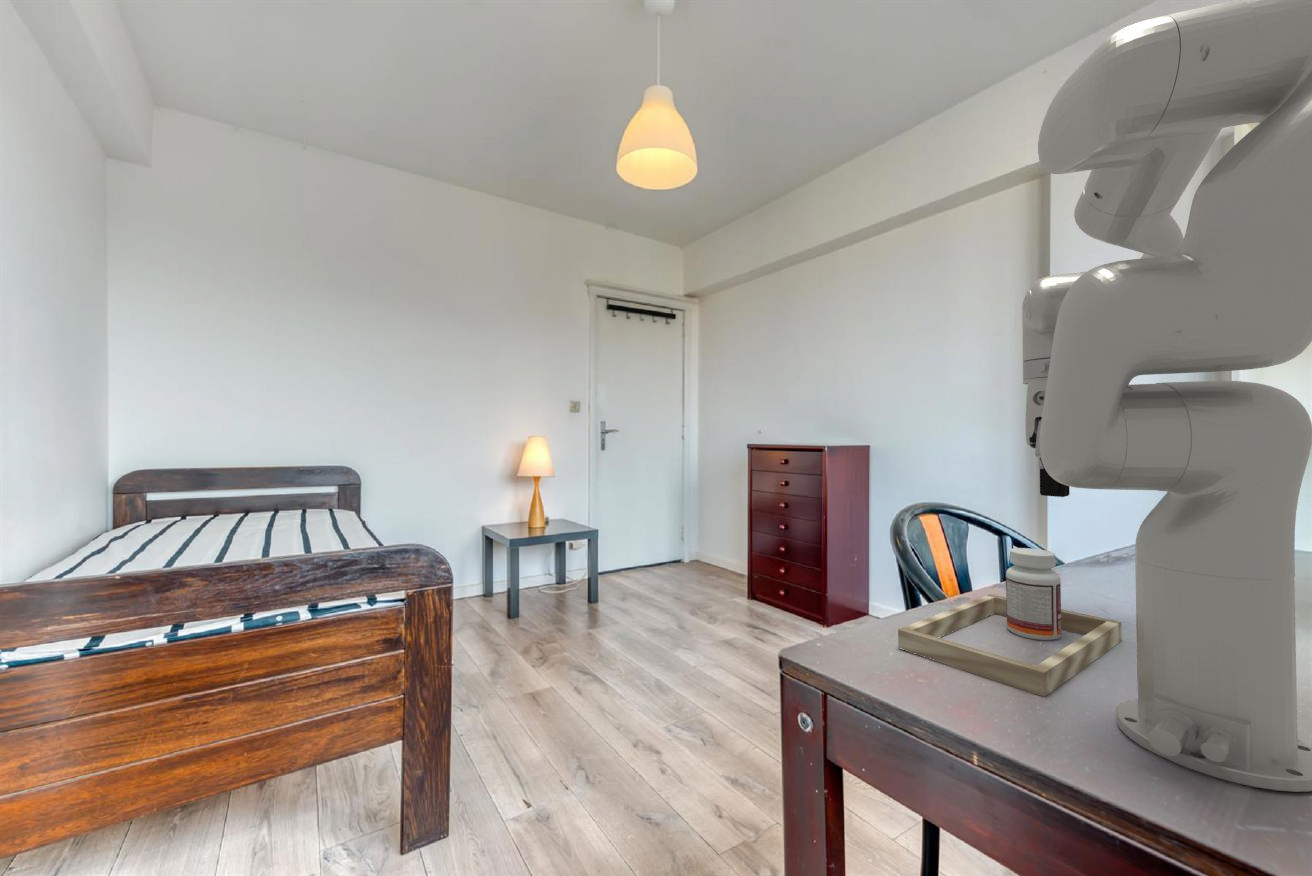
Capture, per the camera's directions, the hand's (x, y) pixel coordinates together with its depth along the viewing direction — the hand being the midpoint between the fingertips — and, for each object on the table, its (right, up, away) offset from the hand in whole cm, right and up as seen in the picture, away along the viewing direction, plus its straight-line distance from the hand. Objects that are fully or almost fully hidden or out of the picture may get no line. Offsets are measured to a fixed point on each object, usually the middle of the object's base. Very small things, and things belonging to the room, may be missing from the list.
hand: (1054, 495), depth 79 cm
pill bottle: (-7, -19, -6) cm, 21 cm away
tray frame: (-13, -18, -10) cm, 25 cm away
